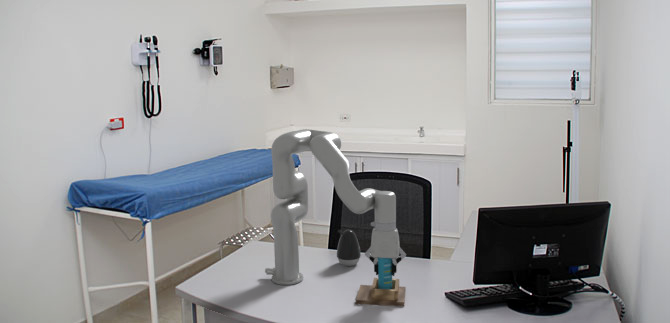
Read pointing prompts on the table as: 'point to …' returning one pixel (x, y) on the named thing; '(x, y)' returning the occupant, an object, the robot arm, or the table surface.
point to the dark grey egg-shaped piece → (348, 248)
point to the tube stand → (381, 294)
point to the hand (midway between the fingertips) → (385, 273)
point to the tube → (385, 273)
